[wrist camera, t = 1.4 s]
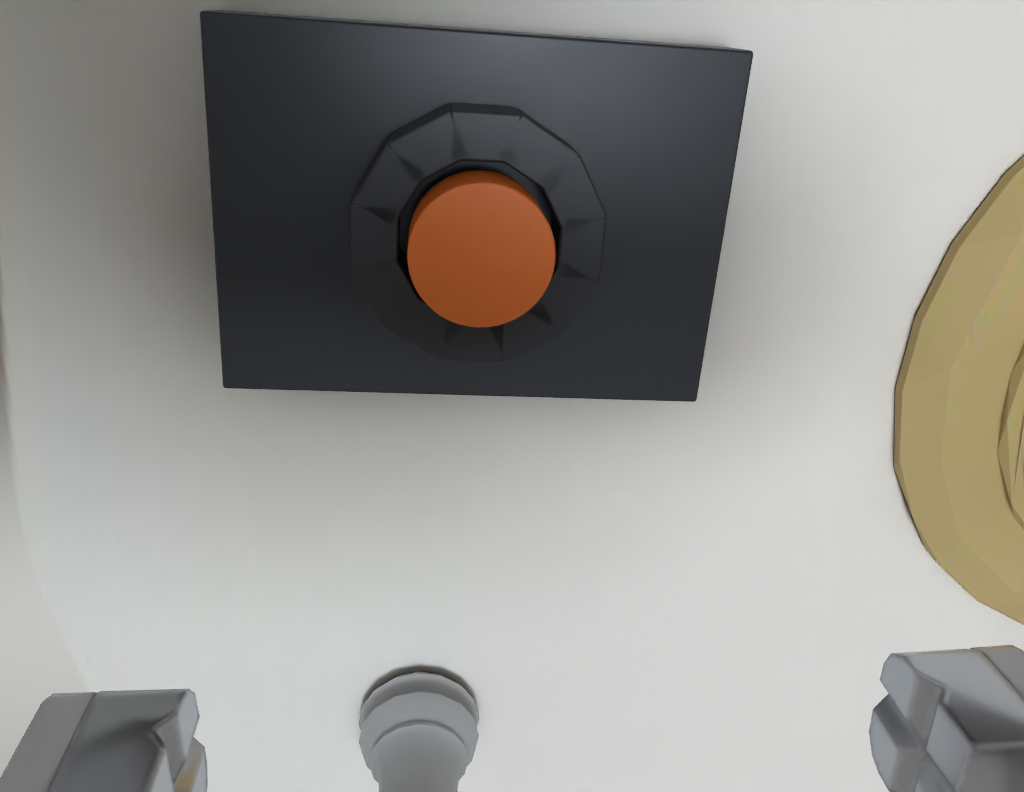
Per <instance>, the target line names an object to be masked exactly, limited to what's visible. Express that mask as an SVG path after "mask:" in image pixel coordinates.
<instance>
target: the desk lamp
mask: <svg viewBox="0 0 1024 792" xmlns="http://www.w3.org/2000/svg"><path fill="white" fill-rule="evenodd" d="M894 469H895V472H896V474H897V477H898V480H899V482H900V485H901V488H902V490H903V493H904V496H905V498H906V501H907V504H908V506H909V509H910V512H911V514H912V517H913V519H914V522H915V525H916V527H917V530H918V532H919V535H920V538H921V540H922V543H923V546H924V547H925V548H926V549H927V551H928V552H929V553H930V554H931V555H932V557H933V558H934V559H935V560H936V561H937V563H938V564H939V565H940V566H941V567H942V568H943V569H944V570H945V571H946V572H948V573H949V574H950V575H951V576H952V577H953V578H954V579H955V580H956V581H957V582H958V583H959V584H960V585H961V586H962V587H963V588H964V589H965V590H966V591H967V592H969V593H970V594H971V595H972V596H973V597H974V598H975V599H976V600H977V601H979V602H981V603H983V604H985V605H986V606H988V607H990V608H992V609H994V610H996V611H998V612H1000V613H1002V614H1004V615H1006V616H1008V617H1010V618H1012V619H1014V620H1016V621H1017V622H1019V623H1021V624H1023V625H1024V156H1023V157H1022V158H1021V159H1020V160H1019V161H1018V162H1017V163H1016V164H1014V165H1013V166H1012V167H1011V168H1010V169H1009V170H1008V171H1007V172H1006V173H1005V174H1004V175H1003V177H1002V178H1001V179H1000V180H999V182H998V183H997V184H996V186H995V187H994V188H993V190H992V191H991V192H990V194H989V195H988V196H987V198H986V199H985V200H984V201H983V203H982V204H981V205H980V207H979V208H978V209H977V211H976V212H975V213H974V215H973V216H972V217H971V219H970V220H969V221H968V222H967V224H966V225H965V226H964V228H963V229H962V230H961V232H960V233H959V234H958V236H957V237H956V238H955V240H954V241H953V242H952V244H951V246H950V248H949V250H948V252H947V254H946V256H945V258H944V260H943V262H942V264H941V266H940V268H939V270H938V272H937V274H936V276H935V278H934V280H933V282H932V284H931V286H930V288H929V290H928V292H927V294H926V296H925V298H924V300H923V302H922V304H921V306H920V308H919V310H918V312H917V314H916V316H915V319H914V323H913V326H912V330H911V334H910V337H909V341H908V345H907V348H906V352H905V356H904V359H903V363H902V366H901V370H900V374H899V377H898V381H897V385H896V388H895V442H894Z"/></svg>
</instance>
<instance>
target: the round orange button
mask: <svg viewBox="0 0 1024 792" xmlns="http://www.w3.org/2000/svg"><path fill="white" fill-rule="evenodd" d="M555 257H556V250H555V241H554V237H553V233H552V230H551V228H550V225H549V223H548V221H547V219H546V217H545V216H544V214H543V212H542V210H541V209H540V207H539V205H538V203H537V201H536V200H535V199H534V197H533V196H532V195H531V194H530V193H529V192H528V191H527V190H526V188H525V187H523V186H522V185H521V184H519V183H518V182H517V181H515V180H513V179H511V178H510V177H508V176H505V175H503V174H500V173H496V172H492V171H485V170H471V171H464V172H460V173H457V174H454V175H451V176H449V177H447V178H445V179H443V180H442V181H440V182H438V183H437V184H436V185H434V186H433V187H432V188H431V189H430V190H429V191H428V192H427V193H426V194H425V195H424V196H423V198H422V199H421V200H420V202H419V203H418V205H417V207H416V209H415V211H414V213H413V216H412V219H411V223H410V227H409V236H408V249H407V262H408V268H409V273H410V276H411V280H412V282H413V284H414V286H415V289H416V291H417V292H418V294H419V295H420V297H421V298H422V299H423V301H424V302H425V303H426V304H427V305H428V306H429V307H430V308H431V309H432V310H433V311H435V312H436V313H437V314H439V315H440V316H442V317H444V318H445V319H447V320H449V321H452V322H454V323H457V324H460V325H464V326H469V327H492V326H498V325H501V324H505V323H507V322H510V321H512V320H514V319H516V318H518V317H520V316H521V315H523V314H524V313H526V312H527V311H528V310H530V309H531V308H532V307H533V306H534V305H535V304H536V303H537V302H538V300H539V299H540V298H541V297H542V295H543V294H544V292H545V291H546V289H547V287H548V285H549V283H550V280H551V278H552V275H553V271H554V266H555Z"/></svg>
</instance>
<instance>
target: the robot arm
mask: <svg viewBox="0 0 1024 792" xmlns="http://www.w3.org/2000/svg"><path fill="white" fill-rule="evenodd" d="M880 681H881V683H882V684H883V686H884V687H885V689H886V690H887V692H888V693H889V694H888V695H887V696H886V697H885V698H884V699H883V700H882V701H881V702H880V703H879V704H878V705H877V706H876V707H875V708H874V709H873V713H872V718H871V724H870V729H869V734H870V742H871V751H872V756H873V759H874V762H875V765H876V767H877V770H878V773H879V775H880V776H881V778H882V780H883V782H884V783H885V785H886V787H887V789H888V790H889V791H890V792H1024V651H1023V650H1021V649H1019V648H1017V647H1015V646H1013V645H1005V646H991V647H977V648H971V649H957V650H940V651H923V652H905V653H891V654H890V656H889V657H888V658H887V660H886V661H885V662H884V665H883V669H882V673H881V677H880ZM198 720H199V711H198V706H197V701H196V696H195V693H194V692H193V691H191V690H190V689H168V690H131V691H100V692H99V693H95V692H90V693H55V694H52V695H51V696H49V697H48V698H47V699H46V700H44V701H43V702H42V704H41V705H40V707H39V709H38V711H37V712H36V714H35V716H34V718H33V720H32V721H31V723H30V725H29V727H28V729H27V730H26V732H25V734H24V736H23V738H22V740H21V741H20V743H19V745H18V747H17V749H16V750H15V752H14V754H13V756H12V758H11V759H10V761H9V763H8V765H7V767H6V769H5V770H4V772H3V774H2V776H1V778H0V792H207V761H206V754H205V747H204V746H203V745H202V744H201V743H199V742H198V741H197V740H196V739H195V738H194V737H193V736H194V733H195V730H196V726H197V723H198Z"/></svg>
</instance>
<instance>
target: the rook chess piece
mask: <svg viewBox="0 0 1024 792" xmlns="http://www.w3.org/2000/svg"><path fill="white" fill-rule="evenodd" d="M478 720H479V715H478V712H477V708H476V704H475V700H474V699H473V698H472V697H471V696H470V695H469V694H468V692H467V691H466V690H465V689H464V688H463V687H462V686H461V685H459V684H458V683H456V682H454V681H452V680H450V679H448V678H445V677H443V676H441V675H439V674H434V673H425V672H414V673H409V674H405V675H400V676H397V677H395V678H394V679H392V680H390V681H389V682H387V683H385V684H384V685H382V686H380V687H379V688H377V689H375V690H374V691H373V693H372V694H371V695H370V697H369V698H368V699H367V701H366V702H365V703H364V704H363V706H362V710H361V715H360V720H359V727H360V730H361V734H360V740H359V744H360V747H361V750H362V753H363V756H364V759H365V762H366V765H367V767H368V768H369V769H370V770H371V771H372V774H373V777H374V779H375V780H376V781H377V782H378V783H379V791H380V792H457V788H458V781H459V779H460V778H461V777H462V776H463V775H464V773H465V769H466V767H467V766H468V764H469V763H470V762H471V761H472V758H473V755H474V751H475V747H476V743H477V739H478V736H479V735H478V731H477V724H478Z"/></svg>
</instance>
